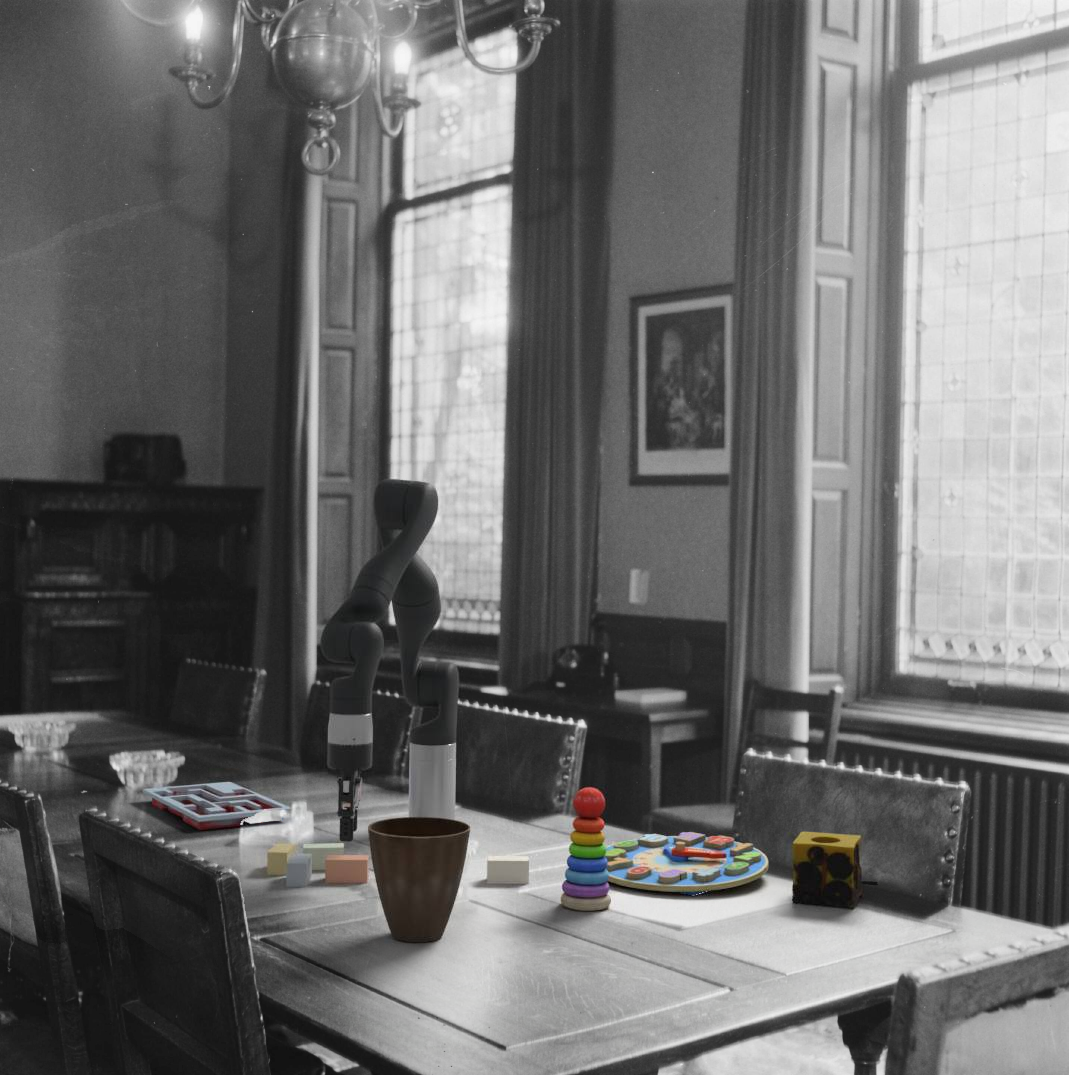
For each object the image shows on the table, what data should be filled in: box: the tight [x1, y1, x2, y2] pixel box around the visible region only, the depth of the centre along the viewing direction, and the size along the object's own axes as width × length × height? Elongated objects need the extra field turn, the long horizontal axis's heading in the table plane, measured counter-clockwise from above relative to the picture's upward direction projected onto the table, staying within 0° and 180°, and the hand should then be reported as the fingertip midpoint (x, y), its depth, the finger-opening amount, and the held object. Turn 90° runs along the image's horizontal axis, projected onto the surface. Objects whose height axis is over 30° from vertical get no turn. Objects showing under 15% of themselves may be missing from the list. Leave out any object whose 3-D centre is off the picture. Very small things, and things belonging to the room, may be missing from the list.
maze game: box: [142, 781, 292, 831], centre depth 295 cm, size 35×20×3 cm, turn 33°
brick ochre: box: [266, 842, 297, 876], centre depth 245 cm, size 3×7×4 cm, turn 178°
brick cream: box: [486, 855, 530, 885], centre depth 240 cm, size 3×7×4 cm, turn 93°
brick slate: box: [285, 853, 313, 888], centre depth 238 cm, size 3×7×4 cm, turn 3°
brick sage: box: [302, 842, 345, 871], centre depth 248 cm, size 3×7×4 cm, turn 99°
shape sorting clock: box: [604, 831, 769, 896], centre depth 246 cm, size 31×30×6 cm
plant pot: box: [367, 816, 471, 943], centre depth 206 cm, size 15×15×16 cm
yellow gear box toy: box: [791, 831, 863, 909], centre depth 231 cm, size 10×10×10 cm
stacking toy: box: [560, 786, 612, 912], centre depth 225 cm, size 8×8×19 cm
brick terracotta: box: [324, 854, 370, 884], centre depth 239 cm, size 3×7×4 cm, turn 92°
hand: (348, 836), depth 239 cm, fingers open, 8 cm apart
